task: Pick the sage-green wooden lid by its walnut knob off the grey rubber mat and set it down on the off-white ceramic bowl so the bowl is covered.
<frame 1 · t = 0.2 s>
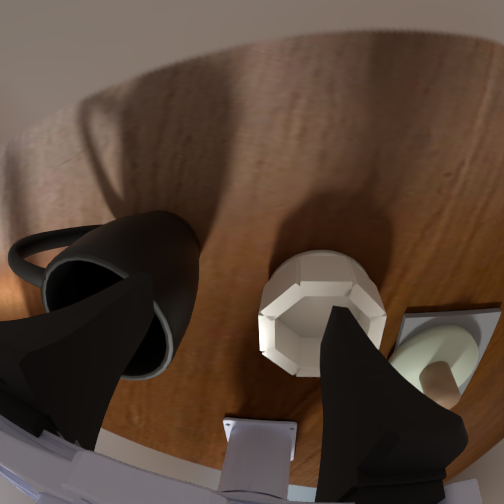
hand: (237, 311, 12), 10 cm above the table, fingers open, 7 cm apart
mat: (436, 362, 25), on the table
lid: (430, 363, 24), point 1 cm above the table, touching mat
mug: (143, 234, 23), on the table
bowl: (319, 298, 23), on the table
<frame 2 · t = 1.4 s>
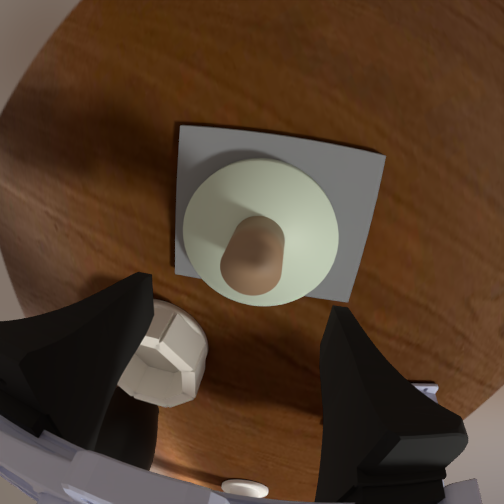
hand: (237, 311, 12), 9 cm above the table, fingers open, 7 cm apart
mat: (272, 215, 20), on the table
lid: (261, 232, 20), point 1 cm above the table, touching mat
mug: (132, 406, 32), on the table
bowl: (162, 338, 25), on the table
candle: (245, 486, 38), on the table
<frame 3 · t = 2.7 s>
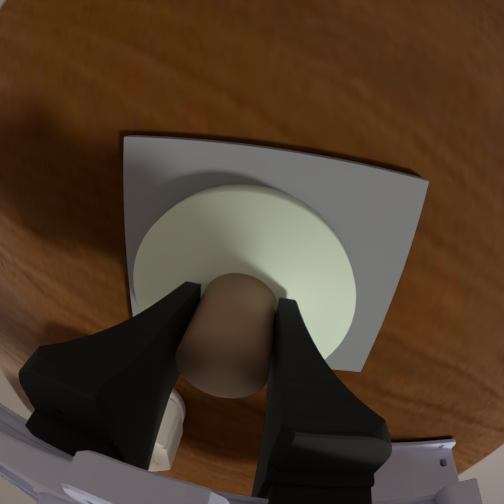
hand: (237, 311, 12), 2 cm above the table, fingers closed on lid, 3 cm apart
mat: (259, 264, 14), on the table
lid: (243, 289, 14), point 1 cm above the table, touching gripper, mat
bowl: (132, 394, 20), on the table
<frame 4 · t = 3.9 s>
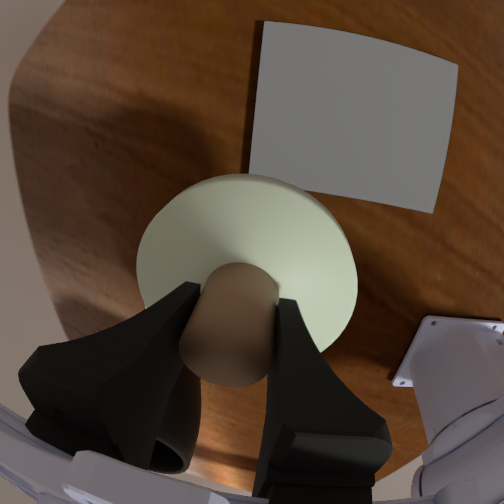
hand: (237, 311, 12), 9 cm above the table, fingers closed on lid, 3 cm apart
mat: (358, 115, 17), on the table
lid: (246, 278, 14), point 7 cm above the table, touching gripper
mug: (166, 377, 29), on the table
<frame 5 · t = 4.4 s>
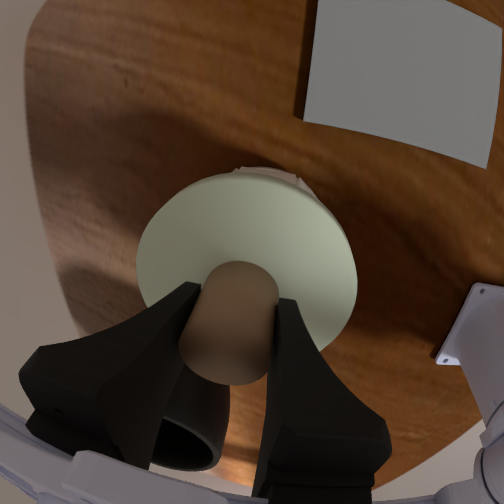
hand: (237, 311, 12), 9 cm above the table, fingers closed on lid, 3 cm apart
mat: (414, 63, 14), on the table
lid: (246, 277, 14), point 7 cm above the table, touching gripper
mug: (185, 359, 26), on the table
bowl: (261, 230, 20), on the table
when the fingers open (7 cm above the table, at t = 5.0 s): lid stays where it is, resting on bowl.
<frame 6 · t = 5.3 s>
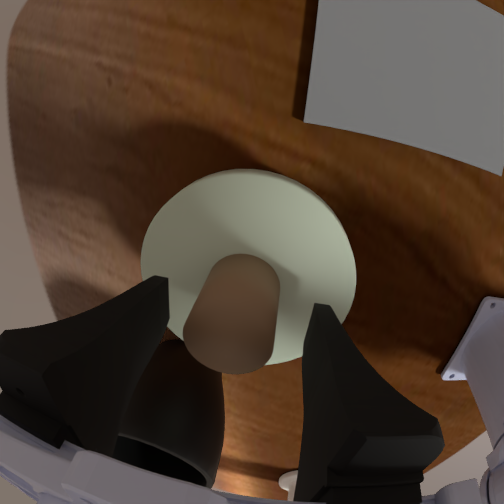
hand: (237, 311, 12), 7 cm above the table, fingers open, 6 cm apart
mat: (426, 59, 12), on the table
lid: (247, 272, 14), point 4 cm above the table, touching bowl
mug: (178, 374, 24), on the table
candle: (307, 478, 31), on the table
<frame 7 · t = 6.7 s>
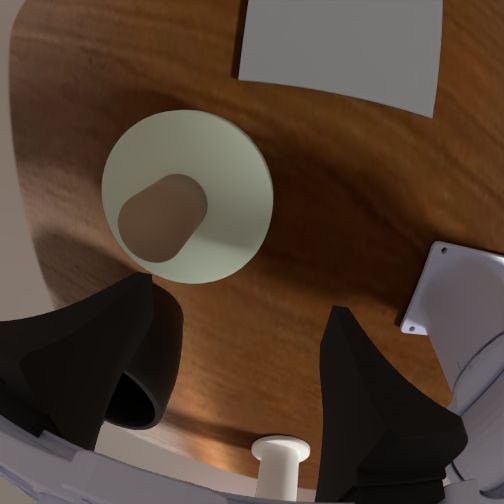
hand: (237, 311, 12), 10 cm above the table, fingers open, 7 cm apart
mat: (347, 21, 15), on the table
lid: (186, 196, 17), point 4 cm above the table, touching bowl
mug: (146, 322, 27), on the table
candle: (281, 447, 33), on the table
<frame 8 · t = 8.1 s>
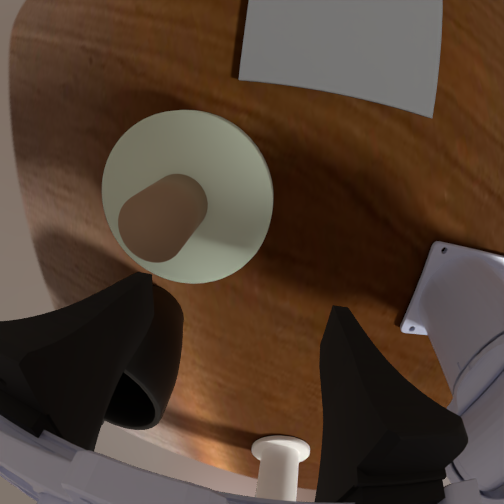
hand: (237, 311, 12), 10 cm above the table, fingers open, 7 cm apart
mat: (348, 21, 15), on the table
lid: (186, 196, 17), point 4 cm above the table, touching bowl
mug: (146, 322, 27), on the table
candle: (281, 447, 33), on the table
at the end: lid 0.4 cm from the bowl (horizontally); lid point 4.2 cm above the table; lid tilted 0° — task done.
